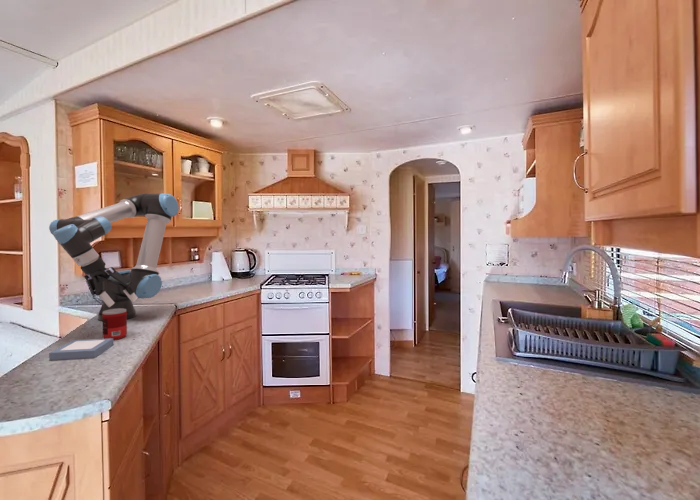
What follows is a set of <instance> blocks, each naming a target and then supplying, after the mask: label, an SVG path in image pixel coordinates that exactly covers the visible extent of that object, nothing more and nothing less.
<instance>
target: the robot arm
mask: <svg viewBox="0 0 700 500" xmlns="http://www.w3.org/2000/svg"><path fill="white" fill-rule="evenodd" d="M179 210H180V208H179V203H178V200H177V199H176V197H175V196H174V195H173V194H171V193H163V192H162V193H140V194H136V195H133V196H129V197H127V198H122V199H120V200H119V202H118V203H114V204H112V205H107V206H105V207H102V208H98V209H96V210H95V209H94V210H92V211H88V212H86V213H83V214H82V213H81V214H78V215H75V216H73V217H70V218H65V219H64V218H60V219H54V220H53V221H51V222H50V224H49V227H48V229H49V232H50V234H52V236H53V237H54V239H55V240H56V242H57V244H59V245H60V247H62V248H63V250H64V251H65V252H66V253H67V254H68V256H70V258H72V260H73V261H74V263H75V264H76V265H77V266H78V267H80V270H81V271H82V273H84V276H83V278H84V279H85V280H86V282H87V285H88V288H89V290H90V292H91V294H92V296H94V295H96V296H98V297H99V298H100V299H101V300H102V304H101V306H100V310H99V312H98V313H97V317H98V318H97V320H98V321H101V322H103V321H102V313H103V311H105V310H109V309H118V308H123V309H126V311H127V320H129V319H132V318H135V317H136V316H137V313H136V312H137V311H136V308H135V306H134V304H133V303H135V302H136V301H137V300H138V299H151V298H153V297H155V296H156V295H158V293H159V292H160V290H161V289H162V286H163V281H162V277H161V276H160V275H159V274H160V272H159V271H158V269H157V267H158V262H159V256H160V253H161V250H162V245H163V240H164V237H165V232H166V227H167V224H169V223H171V221H172V218H174V217H176V216H177V215H178V213H179ZM141 216H143V217H145V218H146V220H147V221H146V224H145V229H144V232H143V237H142V240H141V244H140V249H139V252H138V256H137V259H136V260H137V261H136V264H135V266H132V268H130V269H126V270H116V269H115V268H114V267H112V266H111V267H109V268H108V269H107V268H106V262H105V261H104V260H103V258H102V257H100V254H98V252H97V251H96V250H95V249H94V247H93V246H92V244H91V243H92V242H94V241H96V240H98V239H100V238H102V237H103V236H105V235H107V234H108V233H110V231H112V223H114V222H117V221H120V220H123V219H126V218H128V219H129V218H130V219H131V218H134V217H141Z"/></svg>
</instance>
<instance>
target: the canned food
mask: <svg viewBox="0 0 700 500" xmlns="http://www.w3.org/2000/svg"><path fill="white" fill-rule="evenodd" d="M101 322H102V339H109V338H113V341H115V340H120V339H124V338H125V337H127V334H128V325H127V324H128V319H127V311H126V309H123V308H118V309H109V310H105V311H103V313H102V321H101Z"/></svg>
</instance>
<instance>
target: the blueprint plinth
mask: <svg viewBox="0 0 700 500" xmlns="http://www.w3.org/2000/svg"><path fill="white" fill-rule="evenodd" d="M112 346H114V340H113V338H109V339H103V338H92V339H88V338H87V339H73V340H71V341H69V342H67V343H66V344H63V345H61V346H59V347H58V348H56V349H55V350H52V351H50V352H49V353H48V355H49V356H48V358H49V361H63V360H79V359H80V360H81V359H94V358H95V359H96V358H97V357H98V356H100V355H102V354H103V353H105V351H107V350H108V349H109V348H111V347H112Z"/></svg>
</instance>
